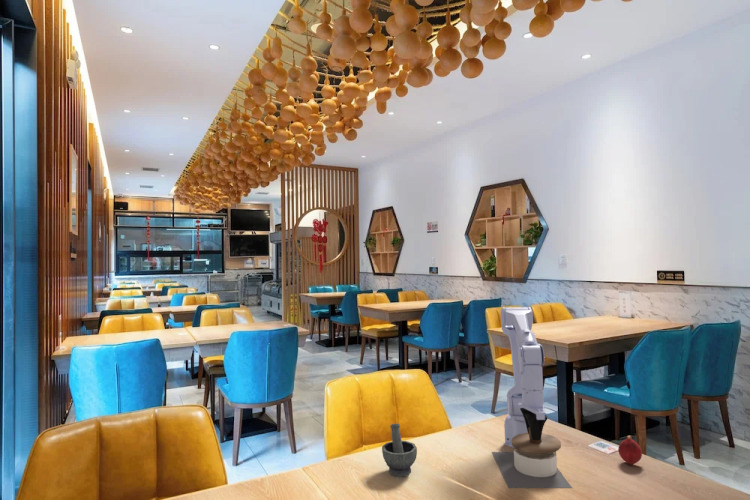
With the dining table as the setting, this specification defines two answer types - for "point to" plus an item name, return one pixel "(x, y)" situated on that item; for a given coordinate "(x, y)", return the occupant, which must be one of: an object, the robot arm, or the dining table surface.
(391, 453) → the mortar and pestle
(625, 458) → the onion
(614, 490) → the dining table surface
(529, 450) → the lid
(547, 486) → the placemat
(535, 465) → the bowl
